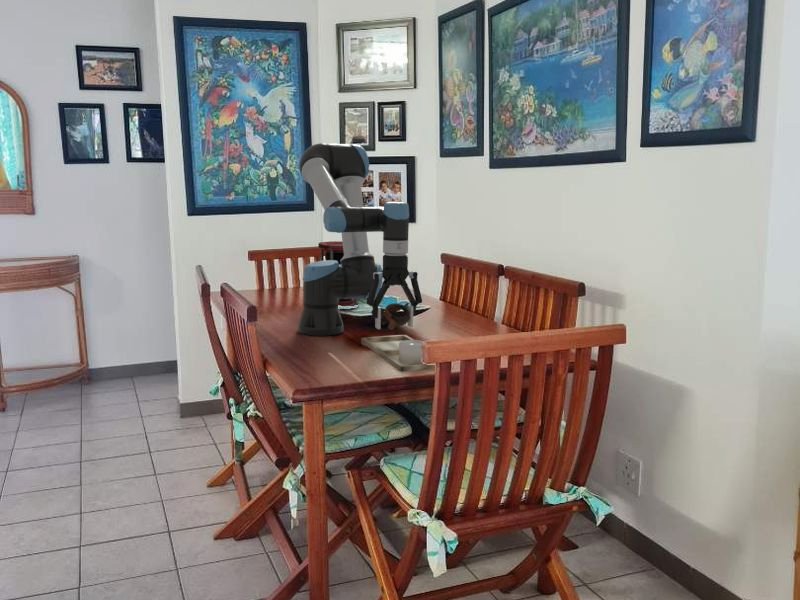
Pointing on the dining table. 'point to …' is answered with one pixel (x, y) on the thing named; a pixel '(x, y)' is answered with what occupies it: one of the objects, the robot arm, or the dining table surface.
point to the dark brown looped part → (393, 315)
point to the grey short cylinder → (410, 352)
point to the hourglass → (335, 253)
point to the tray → (392, 351)
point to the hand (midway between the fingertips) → (394, 327)
